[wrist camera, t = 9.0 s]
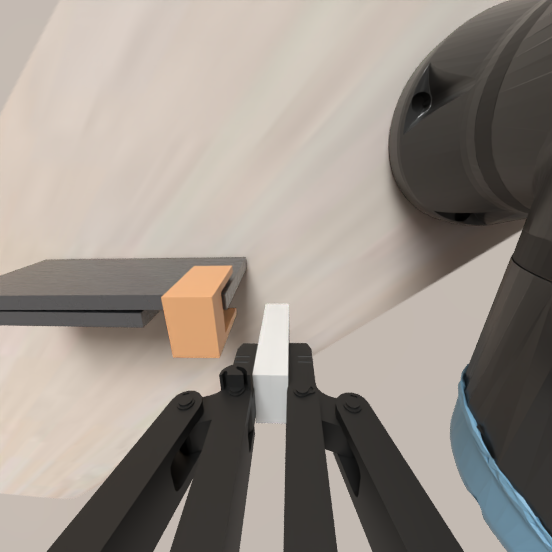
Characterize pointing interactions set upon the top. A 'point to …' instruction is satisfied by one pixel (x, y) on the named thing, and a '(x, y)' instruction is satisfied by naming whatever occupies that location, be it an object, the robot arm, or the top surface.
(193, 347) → the orange slotted clip
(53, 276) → the arm
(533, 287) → the robot arm
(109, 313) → the tongs hinged arm
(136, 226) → the top surface
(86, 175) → the top surface
